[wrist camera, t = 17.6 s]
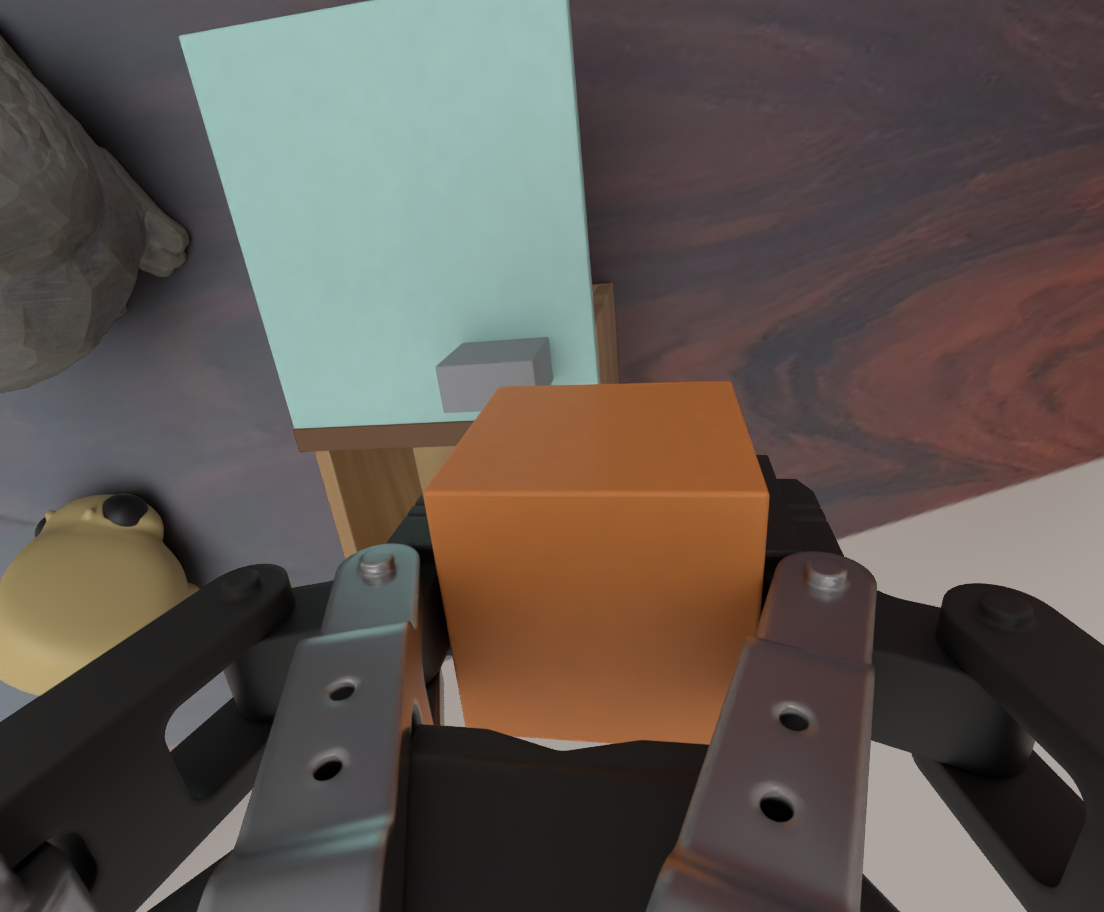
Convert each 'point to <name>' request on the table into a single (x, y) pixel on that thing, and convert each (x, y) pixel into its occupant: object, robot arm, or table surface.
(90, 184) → the figurine
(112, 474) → the table surface
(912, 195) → the table surface
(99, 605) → the toy pig
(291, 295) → the mint sliding box lid
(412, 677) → the robot arm
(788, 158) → the table surface
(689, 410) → the block
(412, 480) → the maple box
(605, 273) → the table surface
